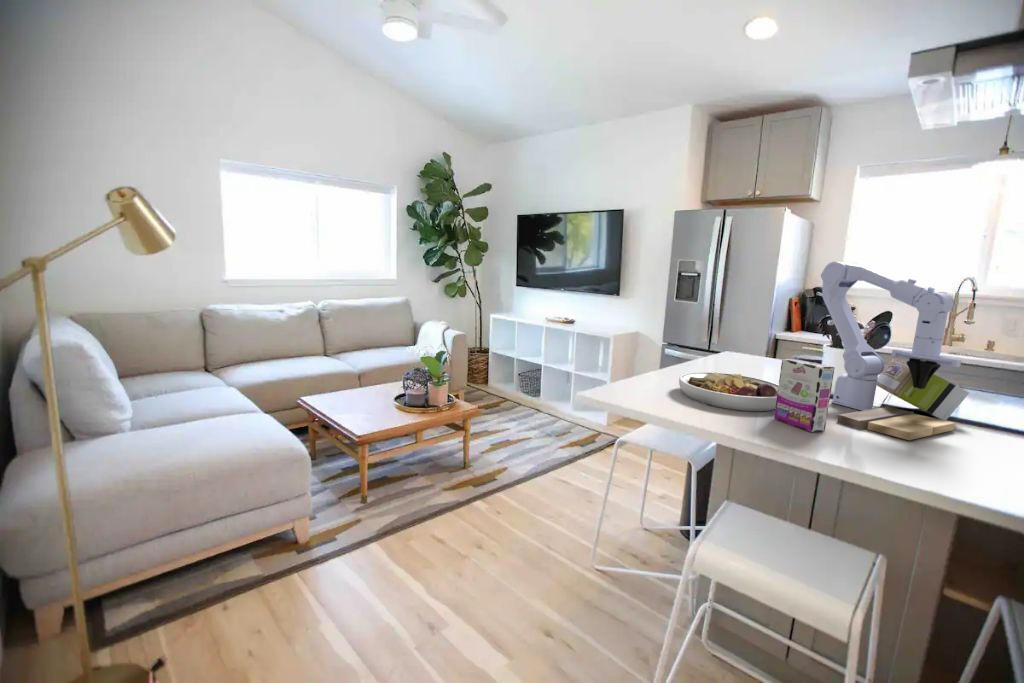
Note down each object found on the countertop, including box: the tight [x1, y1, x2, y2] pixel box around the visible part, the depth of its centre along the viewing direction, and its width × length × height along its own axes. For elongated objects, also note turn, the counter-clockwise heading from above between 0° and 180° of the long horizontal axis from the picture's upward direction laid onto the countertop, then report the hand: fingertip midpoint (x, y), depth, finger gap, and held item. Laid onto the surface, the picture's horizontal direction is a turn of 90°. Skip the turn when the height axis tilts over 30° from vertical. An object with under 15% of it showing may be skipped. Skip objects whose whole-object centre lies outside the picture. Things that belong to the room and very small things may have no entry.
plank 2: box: [893, 413, 956, 436], centre depth 125 cm, size 9×11×2 cm
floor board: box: [836, 405, 914, 430], centre depth 129 cm, size 6×24×2 cm, turn 116°
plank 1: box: [867, 418, 933, 441], centre depth 120 cm, size 9×11×2 cm
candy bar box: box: [773, 358, 836, 433], centre depth 122 cm, size 11×5×16 cm, turn 21°
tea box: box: [876, 357, 970, 421], centre depth 138 cm, size 15×10×15 cm
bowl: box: [678, 371, 779, 412], centre depth 145 cm, size 30×30×8 cm
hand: (918, 387), depth 129 cm, fingers closed
